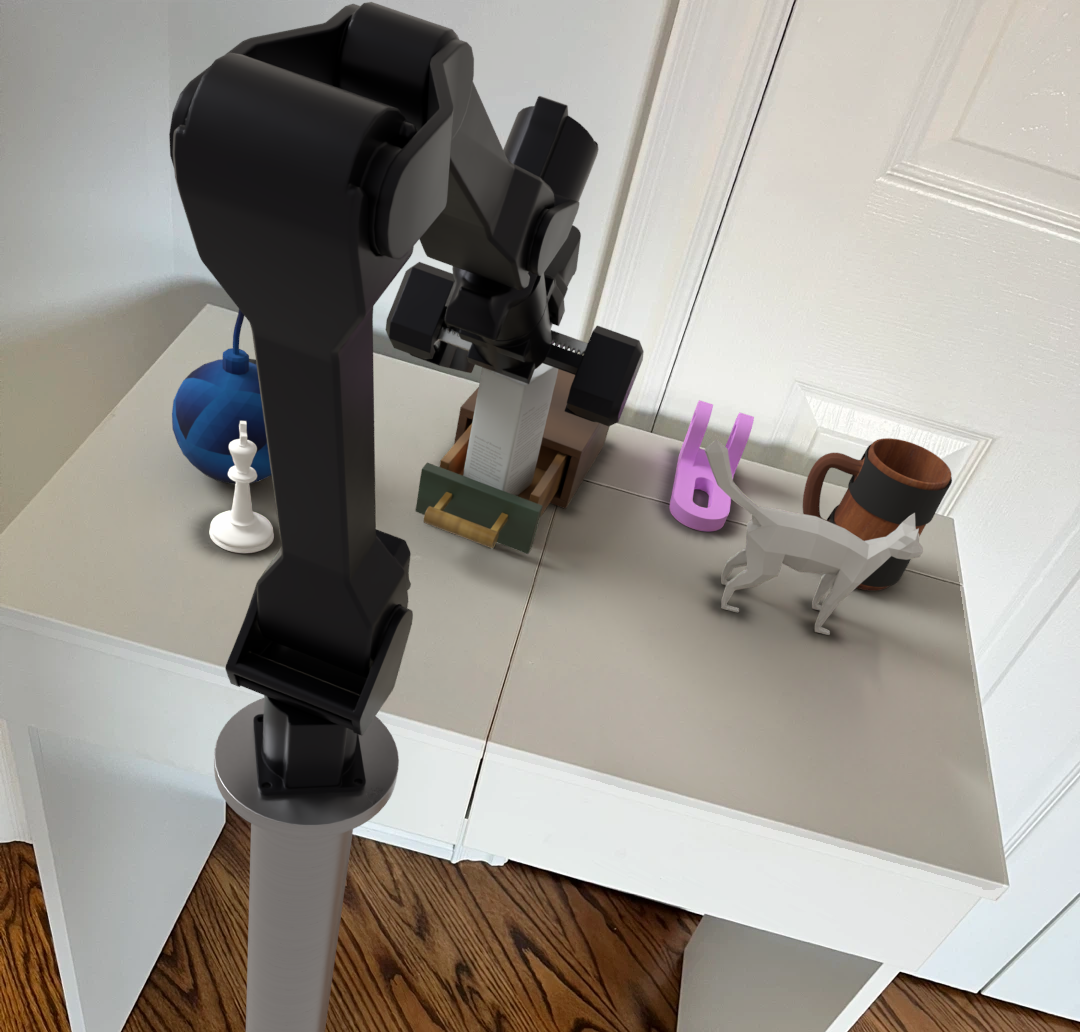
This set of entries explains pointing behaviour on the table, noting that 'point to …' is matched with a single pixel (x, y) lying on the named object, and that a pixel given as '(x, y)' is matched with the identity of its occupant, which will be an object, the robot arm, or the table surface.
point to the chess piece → (242, 505)
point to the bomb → (221, 413)
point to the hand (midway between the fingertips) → (523, 385)
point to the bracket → (705, 472)
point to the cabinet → (558, 436)
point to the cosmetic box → (509, 428)
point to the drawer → (487, 499)
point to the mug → (882, 495)
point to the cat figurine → (804, 546)
